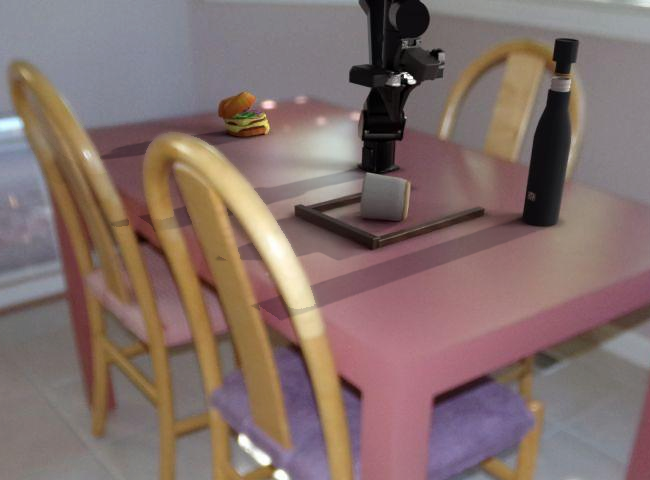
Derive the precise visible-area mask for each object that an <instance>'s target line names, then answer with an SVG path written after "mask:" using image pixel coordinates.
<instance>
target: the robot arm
mask: <svg viewBox="0 0 650 480" xmlns="http://www.w3.org/2000/svg"><path fill="white" fill-rule="evenodd" d="M357 1H358V5H359V6H360V8H361V9H362V11H363V12H364V14H365V15H366V21H367V43H368V45H367V46H368V63H363V64H357V65H352V66H351V68H350V69H349V70H348V83H351V84H354V85H358V86H360V87H361V86H362V87H366V88H369V92H368V95H367V96H366V98H365V100H364V102H363V105H362V109H360V110H361V111H360V115H359V119H358V123H357V136H358V138H359V139H360V141H361V142H363V143H362V145H363V146H362V147H361V163H358V164H357V168H359V169H362V170H365V171H367V172H369V173H372V174H378V175H382V174H385V173H390V172H394V171H397V170H400V169H401V166H399V165H397V164H395V161H396V145H397V144H396V143H397V142H403V140H404V132H405V129H406V128H405V127H406V123H407V119H408V118H407V116H406V113H405V110H404V108H405V106H406V103H407V101H408V98H409V97H410V94H411V92H412V91H413V90H414V89H416V88H417V87H419V86H421V85H422V83H424V82H425V81H435V80H437V79H443V78H444V70H445V65H446V64H445V63H446V51H445V50H443V49H442V48H440V47H439V48H433V49H432V50H430V49H428V50H427V49H426V50H425V49H423V48H422V39H421V36H423V35H424V34H425V33H426V31H427V30H428V28H429V26H430V22H431V15H430V11H429V8H428V7H427V6H426V4H425V3H423V2H422V1H421V0H357ZM396 141H397V142H396Z"/></svg>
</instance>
